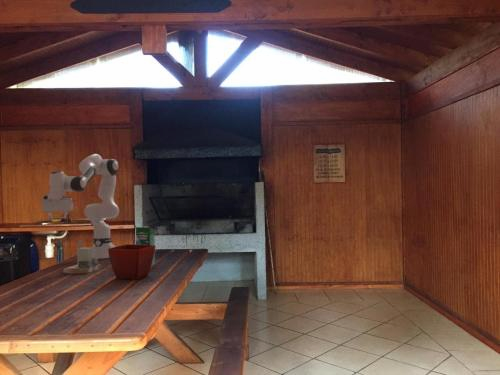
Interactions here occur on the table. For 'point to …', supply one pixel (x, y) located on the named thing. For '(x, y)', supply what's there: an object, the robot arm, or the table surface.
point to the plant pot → (131, 260)
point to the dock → (84, 267)
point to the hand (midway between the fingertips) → (57, 218)
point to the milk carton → (145, 237)
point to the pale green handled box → (84, 254)
